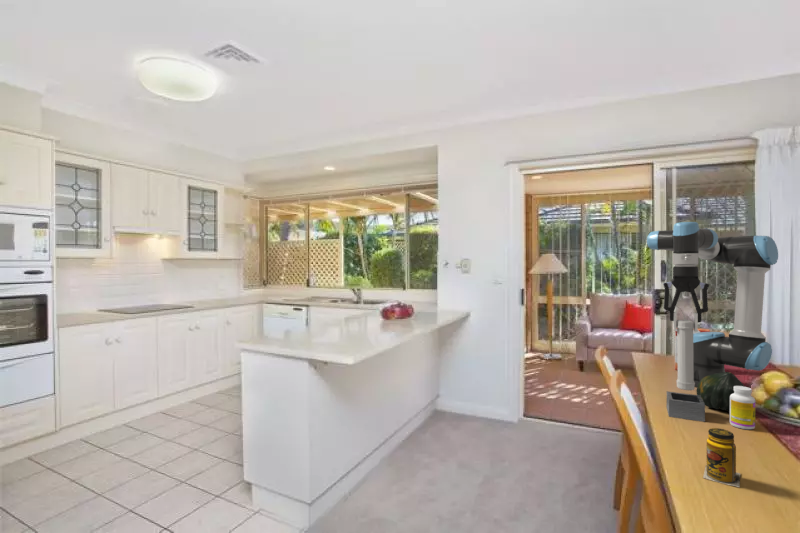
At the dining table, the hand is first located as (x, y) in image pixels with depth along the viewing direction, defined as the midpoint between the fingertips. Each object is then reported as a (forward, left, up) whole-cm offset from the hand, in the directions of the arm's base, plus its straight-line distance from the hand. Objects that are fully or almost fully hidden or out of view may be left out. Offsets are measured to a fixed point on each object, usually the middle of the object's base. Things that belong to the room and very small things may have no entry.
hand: (685, 330), depth 150 cm
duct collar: (0, 0, -30) cm, 30 cm away
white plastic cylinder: (0, 0, -21) cm, 21 cm away
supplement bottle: (-16, +4, -30) cm, 34 cm away
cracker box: (-10, -68, -30) cm, 75 cm away
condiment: (-4, +46, -30) cm, 55 cm away
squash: (-13, -13, -30) cm, 35 cm away
